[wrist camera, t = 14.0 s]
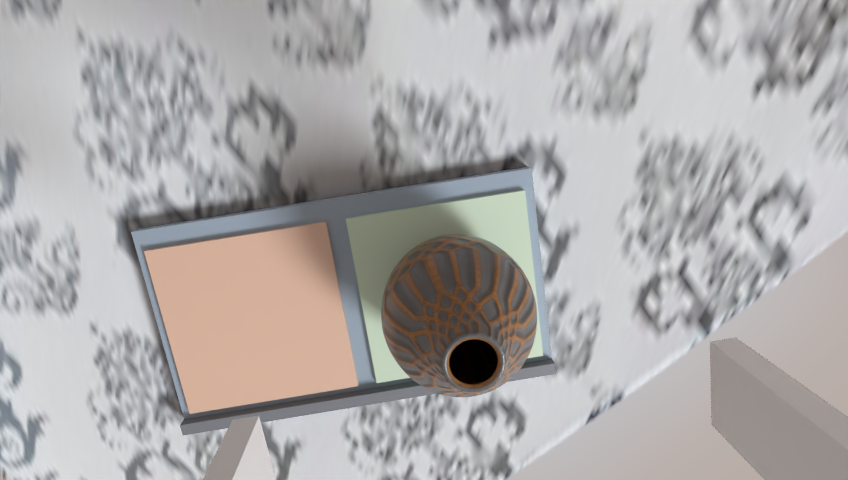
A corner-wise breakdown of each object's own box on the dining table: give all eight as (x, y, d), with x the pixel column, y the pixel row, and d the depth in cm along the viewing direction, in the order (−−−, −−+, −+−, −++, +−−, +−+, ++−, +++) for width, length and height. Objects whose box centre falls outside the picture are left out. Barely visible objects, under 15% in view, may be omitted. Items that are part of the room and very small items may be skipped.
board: (138, 228, 28) (125, 234, 27) (527, 166, 29) (534, 169, 27) (192, 420, 31) (183, 435, 30) (548, 362, 31) (555, 373, 30)
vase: (423, 372, 30) (436, 478, 21) (357, 263, 28) (342, 331, 20) (539, 310, 29) (598, 393, 21) (478, 196, 28) (515, 236, 19)
